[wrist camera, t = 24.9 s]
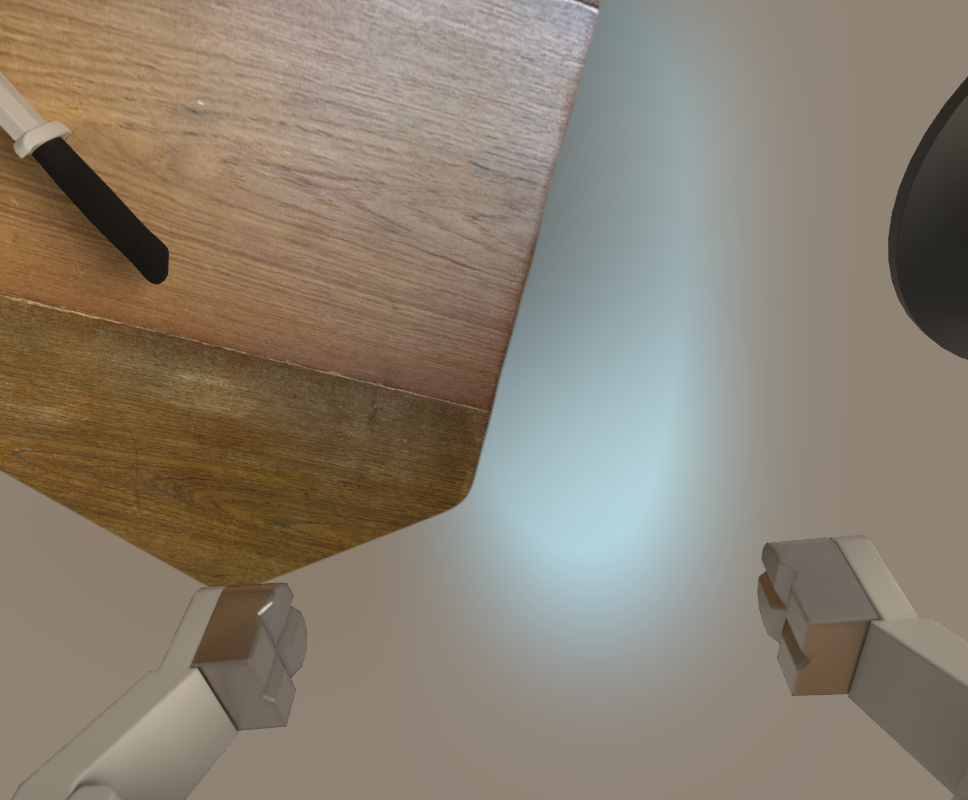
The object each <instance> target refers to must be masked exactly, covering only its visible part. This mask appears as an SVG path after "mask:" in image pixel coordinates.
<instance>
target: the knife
mask: <svg viewBox="0 0 968 800" xmlns="http://www.w3.org/2000/svg"><path fill="white" fill-rule="evenodd" d="M0 126H1V127H2V128H3V129H4V130H5V131H6V132H7V133H8V134H9V135H10V136H11V137H12V138H13V139H14V140H15V141H16V142H15V143H14V145H13V148H14V151H15V153H16V154H17V155H18V156H19V157H20V158H21V159H22V158H24V157H25V156H26V155H31V154H32V155H33V157H34V158H35V159H36V160H37V162H38V163H39V164H40V165H41V166H42V167H43V168H44V170H45V171H46V172H47V173H48V174H49V176H50V177H51V178H52V179H53V180H54V181H55V183H56V184H57V185H58V186H59V187H60V188H61V189H62V191H63V192H64V193H65V194H66V195H67V196H68V197H69V198H70V200H71V201H72V202H73V203H74V204H75V205H76V206H77V207H78V208H79V209H80V211H81V212H82V213H83V214H84V215H85V216H86V217H87V218H88V219H89V220H90V221H91V222H92V223H93V224H94V226H95V227H96V228H97V229H98V230H99V231H100V232H101V233H102V234H103V235H104V236H105V237H106V238H107V239H108V240H109V241H110V242H111V243H112V244H113V245H114V246H115V247H116V248H117V249H118V250H119V251H121V252H122V253H123V254H124V255H125V256H126V257H127V258H128V259H129V260H130V261H131V262H132V263H133V265H134V266H135V267H136V268H137V269H138V270H139V271H140V273H141V274H142V275H143V276H144V277H145V278H146V279H147V280H148V281H149V282H151V283H153V284H160V283H161V282H163V281H164V280H165V279H166V277H167V275H168V261H169V251H168V248H167V247H166V246H165V245H164V244H163V243H162V242H161V241H160V240H159V239H158V238H157V237H156V236H155V235H154V234H153V233H151V232H150V231H149V230H148V229H147V228H146V227H145V226H144V225H143V224H142V223H141V222H140V221H139V219H138V218H137V217H136V216H135V215H134V214H133V213H132V212H131V211H130V210H129V209H128V207H127V206H126V205H125V204H124V203H123V202H122V201H121V200H120V199H119V197H118V196H117V195H116V194H115V193H114V192H113V191H112V190H111V189H110V188H109V187H108V186H107V185H106V184H105V183H104V182H103V181H102V180H101V178H100V177H99V176H98V175H97V174H96V173H95V172H94V171H93V170H92V169H91V168H90V167H89V166H88V165H87V164H86V163H85V162H84V161H83V160H82V159H81V158H80V157H79V156H78V155H77V154H76V152H75V151H74V150H73V149H72V148H71V147H70V146H69V145H68V144H67V143H66V142H65V141H64V139H66V138H67V137H68V136H69V135H70V134H71V133H72V132H71V130H70V129H69V128H68V127H67V126H65V125H64V124H62V123H61V122H59V121H50V122H48V123H47V121H46V120H45V119H44V118H43V117H42V116H41V115H40V114H39V113H38V112H37V111H36V110H35V109H34V108H33V107H32V106H31V104H30V103H29V102H28V101H27V100H26V99H25V98H24V97H23V96H22V95H21V94H20V93H19V91H18V90H17V89H16V88H15V87H14V86H13V85H12V84H11V83H10V82H9V80H8V79H7V78H6V77H5V76H4V75H3V74H2V73H1V71H0Z"/></svg>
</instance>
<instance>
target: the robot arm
mask: <svg viewBox="0 0 968 800" xmlns="http://www.w3.org/2000/svg"><path fill="white" fill-rule="evenodd" d="M762 561H763V564H764V566H765V568H766V571H765V572H764V573H763V574H762V575H761V576H760V577H759V580H758V591H757V593H758V602H759V609H760V613H761V616H762V620H763V623H764V626H765V628H766V631H767V634H768V635H770V636H771V637H772V638H773V639H775V640H776V641H777V642H779V643H780V645H779V651H778V656H777V659H778V662H779V664H780V666H781V669H782V671H783V674H784V676H785V679H786V681H787V684H788V686H789V689H790V691H791V694H792V696H802V695H831V694H849V696H848V697H849V698H850V699H851V700H852V701H853V702H854V703H856V704H857V705H858V706H859V707H860V708H861V709H862V710H863V711H864V712H865V713H866V714H867V715H868V716H869V717H871V718H872V719H873V720H874V721H875V722H876V723H877V724H878V725H879V726H880V727H881V728H882V729H884V730H885V731H886V732H887V733H888V734H889V735H890V736H891V737H892V738H893V739H894V740H895V741H897V742H898V743H899V744H900V745H901V746H902V747H903V748H904V749H905V750H906V751H907V752H908V753H910V754H911V755H912V756H913V757H914V758H915V759H916V760H917V761H918V762H919V763H920V764H921V765H922V766H923V767H925V768H926V769H927V770H928V771H929V772H930V773H931V774H932V775H933V776H934V777H935V778H936V779H938V780H939V781H940V782H941V783H942V784H943V785H944V786H945V787H946V788H947V789H948V790H949V791H950V792H952V793H953V794H954V796H953V798H952V800H968V642H967V641H966V640H964V639H963V638H961V637H959V636H958V635H956V634H955V633H953V632H952V631H949V630H948V629H947V628H945V627H944V626H942V625H940V624H939V623H937V622H936V621H934V620H933V619H931V618H929V617H920V618H919V617H918V616H917V614H916V613H915V611H914V610H913V608H912V606H911V605H910V603H909V602H908V600H907V598H906V597H905V595H904V594H903V592H902V590H901V589H900V587H899V586H898V584H897V583H896V581H895V579H894V578H893V576H892V575H891V573H890V572H889V570H888V569H887V567H886V565H885V564H884V562H883V561H882V559H881V558H880V556H879V554H878V553H877V551H876V550H875V548H874V547H873V545H872V543H871V542H870V540H869V539H868V538H866V537H865V536H863V535H855V536H843V537H832V538H816V539H805V540H794V541H783V542H772V543H766V545H765V546H764V548H763V553H762ZM292 599H293V594H292V592H291V590H290V588H289V586H288V584H287V583H267V584H248V585H230V586H218V587H202V588H200V589H199V590H198V591H197V592H196V593H195V594H194V595H193V597H192V599H191V601H190V603H189V606H188V608H187V610H186V612H185V614H184V616H183V618H182V620H181V623H180V625H179V627H178V629H177V631H176V633H175V635H174V637H173V639H172V642H171V644H170V646H169V648H168V650H167V652H166V654H165V656H164V659H163V661H162V663H161V665H160V667H159V669H158V670H155V671H149V672H148V673H147V674H146V675H145V676H144V677H142V678H141V679H140V680H139V681H138V682H137V683H136V684H134V685H133V686H132V687H131V688H130V689H129V690H128V691H126V692H125V693H124V694H123V695H122V696H121V697H120V698H119V699H117V700H116V701H115V702H114V703H113V704H112V705H111V706H109V707H108V708H107V709H106V710H105V711H104V712H103V713H102V714H100V715H99V716H98V717H97V718H96V719H94V720H93V721H92V722H91V723H90V724H89V725H88V726H87V727H85V728H84V729H83V730H82V731H81V732H80V733H78V734H77V735H76V736H75V737H74V738H73V739H72V740H71V741H69V742H68V743H67V744H66V745H65V746H64V747H63V748H61V749H60V750H59V751H58V752H57V753H56V754H54V755H53V756H52V757H51V758H50V759H49V760H48V761H46V762H45V763H44V764H43V765H42V766H41V767H40V768H38V769H37V770H36V771H35V772H34V773H33V774H32V775H30V776H29V777H28V778H27V779H26V780H25V781H24V782H22V783H21V784H20V785H19V787H18V788H17V790H16V792H15V793H14V795H13V797H12V799H11V800H186V798H187V797H188V796H189V794H190V793H191V792H192V791H193V790H194V788H195V787H196V786H197V785H198V783H199V782H200V781H201V780H202V778H203V777H204V776H205V775H206V773H207V772H208V771H209V770H210V768H211V767H212V766H213V765H214V763H215V762H216V761H217V760H218V758H219V757H220V756H221V755H222V753H223V752H224V751H225V750H226V748H227V747H228V746H229V745H230V743H231V742H232V741H233V740H234V739H235V737H236V736H237V735H238V732H237V731H240V730H251V729H262V728H273V727H285V726H286V725H287V721H288V718H289V714H290V710H291V707H292V703H293V700H294V696H295V692H296V688H295V686H294V684H293V682H292V680H291V677H292V676H293V675H294V674H295V673H296V672H297V671H298V670H299V669H300V668H301V667H302V666H303V662H304V658H305V654H306V646H307V630H306V625H305V620H304V618H303V616H302V614H301V612H300V611H298V610H297V609H295V608H294V607H292V606H291V602H292Z"/></svg>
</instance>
